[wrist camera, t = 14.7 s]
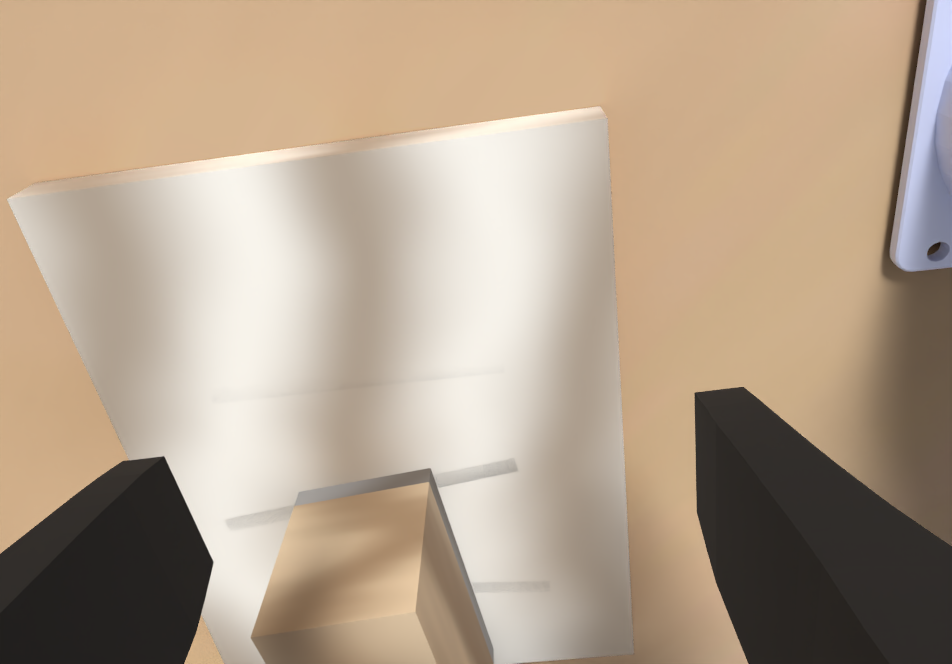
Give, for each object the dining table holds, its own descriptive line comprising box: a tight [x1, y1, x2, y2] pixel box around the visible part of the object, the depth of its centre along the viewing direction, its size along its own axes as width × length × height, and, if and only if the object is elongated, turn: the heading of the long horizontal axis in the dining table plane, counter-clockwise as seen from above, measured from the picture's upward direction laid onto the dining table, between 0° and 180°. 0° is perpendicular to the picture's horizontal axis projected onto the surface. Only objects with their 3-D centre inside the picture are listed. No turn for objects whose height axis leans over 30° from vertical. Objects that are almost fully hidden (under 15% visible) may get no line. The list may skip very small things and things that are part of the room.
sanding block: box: [250, 468, 494, 664], centre depth 21 cm, size 4×8×5 cm, turn 14°
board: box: [7, 106, 634, 664], centre depth 21 cm, size 14×18×1 cm
